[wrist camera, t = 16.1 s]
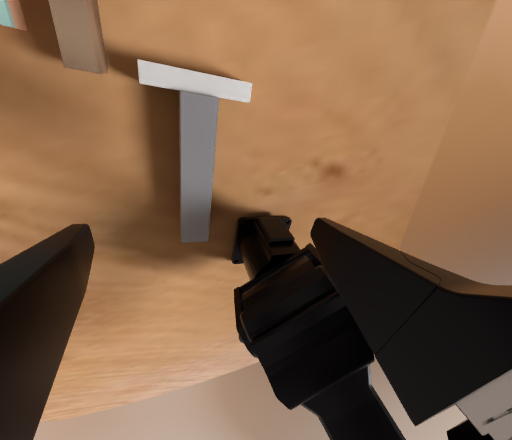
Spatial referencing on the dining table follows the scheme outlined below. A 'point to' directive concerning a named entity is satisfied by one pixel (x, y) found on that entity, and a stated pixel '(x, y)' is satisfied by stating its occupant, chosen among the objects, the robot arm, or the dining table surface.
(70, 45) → the bay
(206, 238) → the pusher tool
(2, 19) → the tile
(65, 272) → the robot arm
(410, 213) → the dining table surface
